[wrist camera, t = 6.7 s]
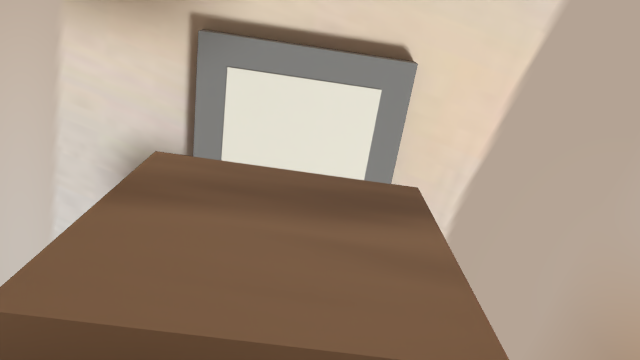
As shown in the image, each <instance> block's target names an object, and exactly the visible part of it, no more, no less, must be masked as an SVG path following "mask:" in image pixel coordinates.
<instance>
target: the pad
mask: <svg viewBox="0 0 640 360" xmlns="http://www.w3.org/2000/svg"><path fill="white" fill-rule="evenodd" d="M417 65H418V64H417V63H416V62H413V61H406V60H400V59H393V58H387V57H380V56H374V55H367V54H360V53H354V52H347V51H341V50H334V49H328V48H321V47H314V46H308V45H301V44H295V43H288V42H282V41H275V40H269V39H262V38H255V37H249V36H242V35H236V34H229V33H223V32H216V31H210V30H199V31H198V53H197V77H196V101H195V126H194V150H193V157H200V158H207V159H215V160H222V161H229V162H236V163H243V164H251V165H258V166H265V167H272V168H279V169H287V170H294V171H301V172H308V173H315V174H323V175H330V176H337V177H344V178H351V179H359V180H366V181H373V182H380V183H387V184H391V182H392V177H393V173H394V168H395V164H396V159H397V155H398V150H399V146H400V141H401V137H402V132H403V128H404V123H405V119H406V114H407V110H408V105H409V101H410V96H411V92H412V87H413V83H414V78H415V74H416V70H417Z"/></svg>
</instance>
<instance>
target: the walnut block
mask: <svg viewBox="0 0 640 360" xmlns="http://www.w3.org/2000/svg"><path fill="white" fill-rule="evenodd" d="M0 360H509V359H508V357H507V355H506V353H505V351H504V349H503V348H502V346H501V344H500V342H499V340H498V338H497V336H496V334H495V332H494V331H493V329H492V327H491V325H490V323H489V321H488V319H487V317H486V315H485V314H484V312H483V310H482V308H481V306H480V304H479V302H478V301H477V298H476V296H475V295H474V293H473V291H472V289H471V287H470V285H469V283H468V281H467V279H466V278H465V276H464V274H463V272H462V270H461V268H460V266H459V265H458V263H457V261H456V259H455V257H454V255H453V253H452V251H451V249H450V247H449V246H448V244H447V242H446V240H445V238H444V236H443V234H442V232H441V230H440V229H439V227H438V225H437V223H436V221H435V219H434V217H433V215H432V213H431V212H430V210H429V208H428V206H427V204H426V202H425V200H424V198H423V196H422V195H421V193H420V191H419V189H418V188H416V187H409V186H402V185H394V184H387V183H380V182H373V181H366V180H359V179H351V178H344V177H337V176H330V175H323V174H315V173H308V172H301V171H294V170H287V169H279V168H272V167H265V166H258V165H251V164H243V163H236V162H229V161H222V160H215V159H207V158H200V157H193V156H186V155H179V154H172V153H164V152H157V151H155V152H154V153H153V154H152V155H151V156H150V157H149V158H147V159H146V160H145V161H144V162H143V163H142V164H141V165H139V166H138V167H137V168H136V169H135V170H134V171H132V172H131V173H130V174H129V175H128V176H127V177H126V178H124V179H123V180H122V181H121V182H120V183H119V184H118V185H116V186H115V187H114V188H113V189H112V190H111V191H110V192H108V193H107V194H106V195H105V196H104V197H103V198H102V199H100V200H99V201H98V202H97V203H96V204H95V205H94V206H92V207H91V208H90V209H89V210H88V211H87V212H86V213H84V214H83V215H82V216H81V217H80V218H79V219H78V220H76V221H75V222H74V223H73V224H72V225H71V226H70V227H68V228H67V229H66V230H65V231H64V232H63V233H62V234H60V235H59V236H58V237H57V238H56V239H55V240H54V241H52V242H51V243H50V244H49V245H48V246H47V247H46V248H44V249H43V250H42V251H41V252H40V253H39V254H38V255H36V256H35V257H34V258H33V259H32V260H31V261H30V262H28V263H27V264H26V265H25V266H24V267H23V268H22V269H20V270H19V271H18V272H17V273H16V274H15V275H14V276H12V277H11V278H10V279H9V280H8V281H7V282H5V283H4V284H3V285H2V286H1V287H0Z"/></svg>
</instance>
